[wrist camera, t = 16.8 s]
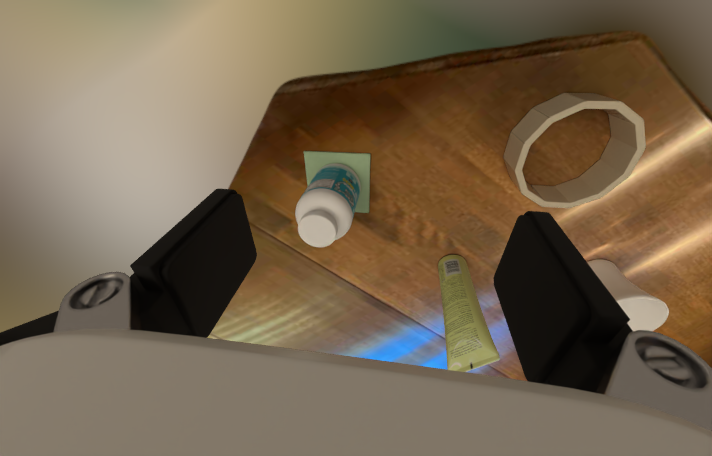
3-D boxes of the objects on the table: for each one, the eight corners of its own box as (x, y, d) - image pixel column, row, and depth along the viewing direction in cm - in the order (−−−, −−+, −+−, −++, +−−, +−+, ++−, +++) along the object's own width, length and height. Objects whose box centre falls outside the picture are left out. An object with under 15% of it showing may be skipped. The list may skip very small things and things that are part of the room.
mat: (304, 150, 43) (303, 151, 43) (370, 153, 42) (370, 154, 42) (310, 208, 49) (310, 209, 48) (369, 211, 48) (368, 213, 47)
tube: (462, 277, 53) (488, 384, 37) (434, 275, 53) (448, 379, 37) (469, 254, 50) (500, 359, 34) (439, 252, 50) (456, 354, 34)
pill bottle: (365, 202, 46) (353, 255, 35) (321, 206, 48) (297, 258, 37) (356, 157, 42) (339, 202, 31) (309, 164, 44) (277, 208, 33)
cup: (592, 242, 45) (634, 289, 37) (638, 265, 46) (688, 315, 38) (548, 277, 50) (577, 325, 42) (591, 297, 51) (626, 347, 43)
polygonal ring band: (522, 92, 35) (538, 99, 31) (639, 93, 33) (672, 102, 29) (494, 187, 42) (503, 204, 38) (589, 192, 41) (609, 210, 37)
